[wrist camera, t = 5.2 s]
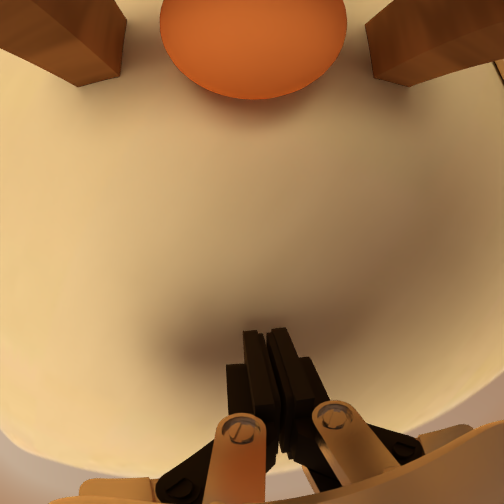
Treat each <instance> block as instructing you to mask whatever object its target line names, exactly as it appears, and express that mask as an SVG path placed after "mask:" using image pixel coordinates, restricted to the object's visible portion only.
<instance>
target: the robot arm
mask: <svg viewBox="0 0 504 504" xmlns="http://www.w3.org/2000/svg"><path fill="white" fill-rule="evenodd" d="M495 63H496V65H497V67H498V69H499V72H500V74H501V76H502V78H503V80H504V59H501V60H497V61H495ZM243 343H244V362H245V364H230V365H226V375H227V395H228V413H229V416H227V417H225V418H223V419H222V420H221V421H220V422H219V424H218V426H217V428H216V433H215V439H214V440H212V441H211V442H210V443H208V444H207V445H206V446H204V447H203V448H202V449H200V450H199V451H198V452H196V453H195V454H194V455H192V456H191V457H189V458H188V459H186V460H185V461H184V462H182V463H181V464H179V465H178V466H176V467H175V468H173V469H172V470H170V471H169V472H167V473H166V474H164V475H163V476H162V477H161V478H159V479H149V477H143V478H118V479H104V478H94V479H89V480H87V481H85V482H83V484H82V485H81V486H80V489H79V496H74V497H65V498H61V499H57V500H54V501H51V502H50V503H48V504H504V420H500V421H496V422H492V423H488V424H485V425H483V426H480V427H478V428H476V429H473V428H472V427H470V426H469V425H465V424H460V425H456V426H452V427H449V428H445V429H441V430H438V431H434V432H430V433H425V434H421V435H419V436H418V438H414V437H411V436H409V435H405V434H401V433H397V432H394V431H390V430H387V429H384V428H380V427H377V426H374V425H371V424H368V423H366V422H365V421H364V420H363V418H362V417H361V416H360V414H359V413H358V412H357V411H356V409H355V408H354V407H352V406H351V405H350V404H348V403H346V402H343V401H338V400H331V401H330V399H329V397H328V395H327V392H326V390H325V388H324V386H323V384H322V382H321V380H320V377H319V375H318V373H317V371H316V369H315V367H314V365H313V363H312V360H311V359H310V357H302V358H299V357H298V355H297V353H296V350H295V348H294V345H293V343H292V340H291V338H290V336H289V333H288V331H287V329H286V328H275V329H272V330H271V332H270V333H267V336H266V343H265V339H264V336H263V333H259V334H258V332H257V330H251V331H243ZM278 444H280V448H281V452H282V453H286V452H287V455H288V458H289V460H290V459H293V460H294V461H295V462H297V463H299V464H301V465H302V469H303V471H304V473H305V475H306V477H307V479H308V481H309V483H310V485H311V487H312V489H313V491H314V492H315V494H312V495H307V496H302V497H297V498H291V499H286V500H278V501H271V502H265V476H266V473H267V472H268V471H269V470H270V469H271V468H272V467H273V466H274V465H275V461H276V454H278Z"/></svg>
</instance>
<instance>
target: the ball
mask: <svg viewBox="0 0 504 504" xmlns="http://www.w3.org/2000/svg"><path fill="white" fill-rule="evenodd" d="M346 30H347V17H346V9H345V5H344V2H343V0H164V1H163V4H162V7H161V13H160V33H161V37H162V41H163V44H164V47H165V49H166V51H167V53H168V55H169V56H170V58H171V60H172V61H173V63H174V64H175V65H176V66H177V68H178V69H179V70H180V71H181V72H182V73H183V74H184V75H186V76H187V77H188V78H189V79H190V80H192V81H193V82H195V83H196V84H198V85H200V86H202V87H204V88H205V89H207V90H210V91H212V92H214V93H217V94H221V95H224V96H229V97H233V98H239V99H268V98H274V97H279V96H283V95H286V94H289V93H292V92H295V91H297V90H300V89H302V88H304V87H306V86H307V85H309V84H310V83H312V82H313V81H315V80H316V79H318V78H319V77H320V76H321V75H323V74H324V73H325V72H326V71H327V69H328V68H329V67H330V66H331V65H332V64H333V63H334V61H335V60H336V58H337V56H338V55H339V53H340V50H341V48H342V46H343V44H344V40H345V36H346Z"/></svg>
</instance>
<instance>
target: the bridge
mask: <svg viewBox="0 0 504 504" xmlns="http://www.w3.org/2000/svg"><path fill="white" fill-rule="evenodd" d="M126 23H127V19H126V18H125V16H124V15H123V13H122V12H121V10H120V9H119V7H118V5H117V4H116V2H115V1H114V0H0V48H1V49H3V50H5V51H7V52H10V53H12V54H14V55H16V56H18V57H20V58H22V59H24V60H26V61H28V62H30V63H32V64H34V65H36V66H38V67H40V68H42V69H44V70H46V71H48V72H50V73H52V74H54V75H56V76H58V77H60V78H62V79H64V80H65V81H67V82H69V83H71V84H73V85H75V86H77V87H80V86H84V85H87V84H91V83H94V82H98V81H102V80H106V79H110V78H114V77H119V76H120V68H121V58H122V50H123V42H124V35H125V29H126ZM365 27H366V32H367V37H368V43H369V49H370V55H371V61H372V68H373V75H374V78H377V79H381V80H385V81H389V82H393V83H396V84H400V85H403V86H407V87H411V86H413V85H416V84H419V83H422V82H425V81H428V80H431V79H434V78H437V77H440V76H443V75H446V74H449V73H452V72H456V71H459V70H462V69H466V68H469V67H473V66H477V65H481V64H485V63H489V62H493V61H497V60H501V59H504V0H394V1H392V2H391V3H390V4H389V5H387V6H386V7H385V8H384V9H383V10H381V11H380V12H379V13H378V14H377V15H376V16H374V17H373V18H372V19H371V20H370V21H369V22H368V23H366V24H365Z"/></svg>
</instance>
